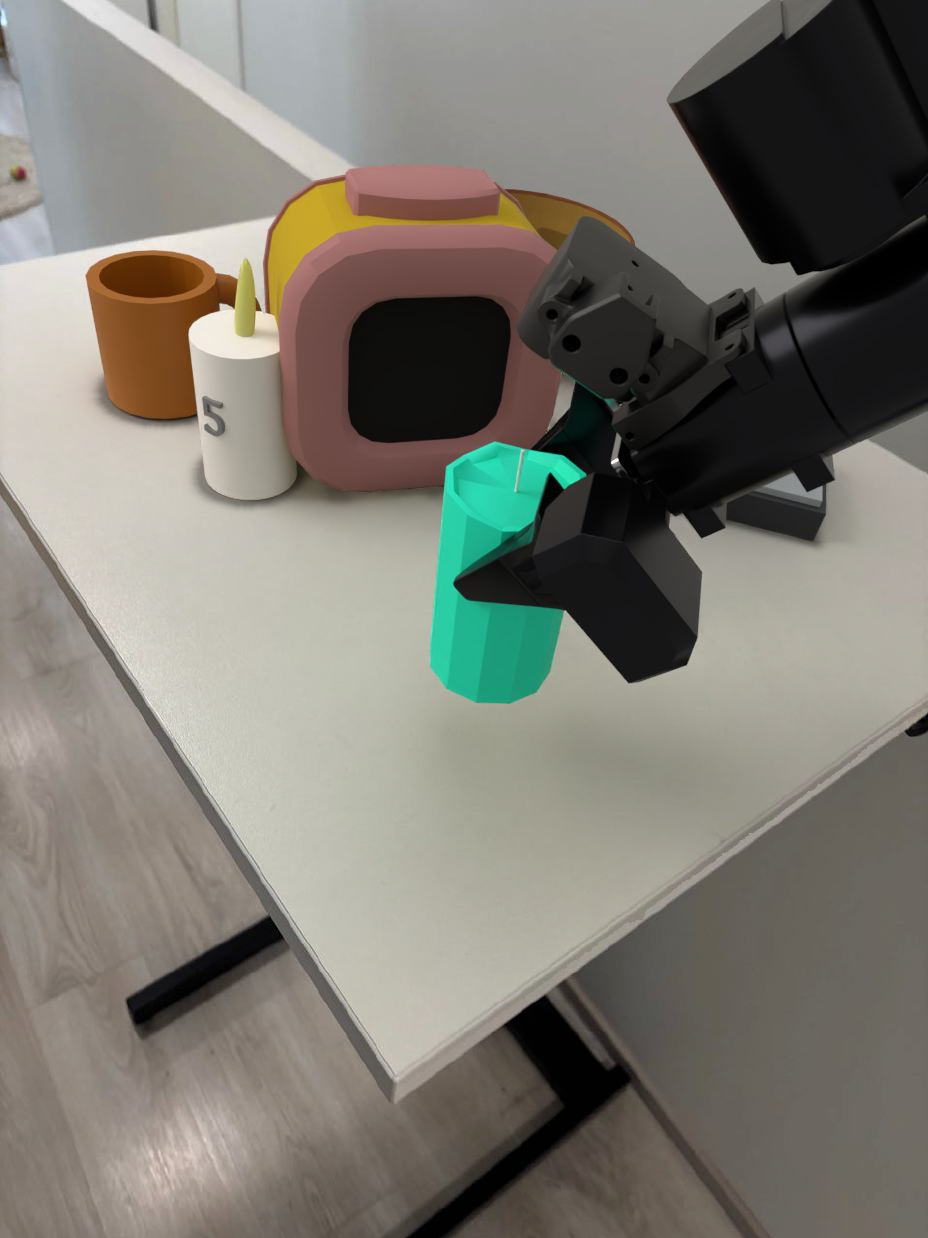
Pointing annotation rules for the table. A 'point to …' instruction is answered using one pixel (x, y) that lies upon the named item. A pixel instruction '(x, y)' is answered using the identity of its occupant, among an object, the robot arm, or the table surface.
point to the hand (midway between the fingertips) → (476, 545)
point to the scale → (782, 508)
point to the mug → (153, 326)
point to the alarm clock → (405, 324)
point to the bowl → (560, 216)
